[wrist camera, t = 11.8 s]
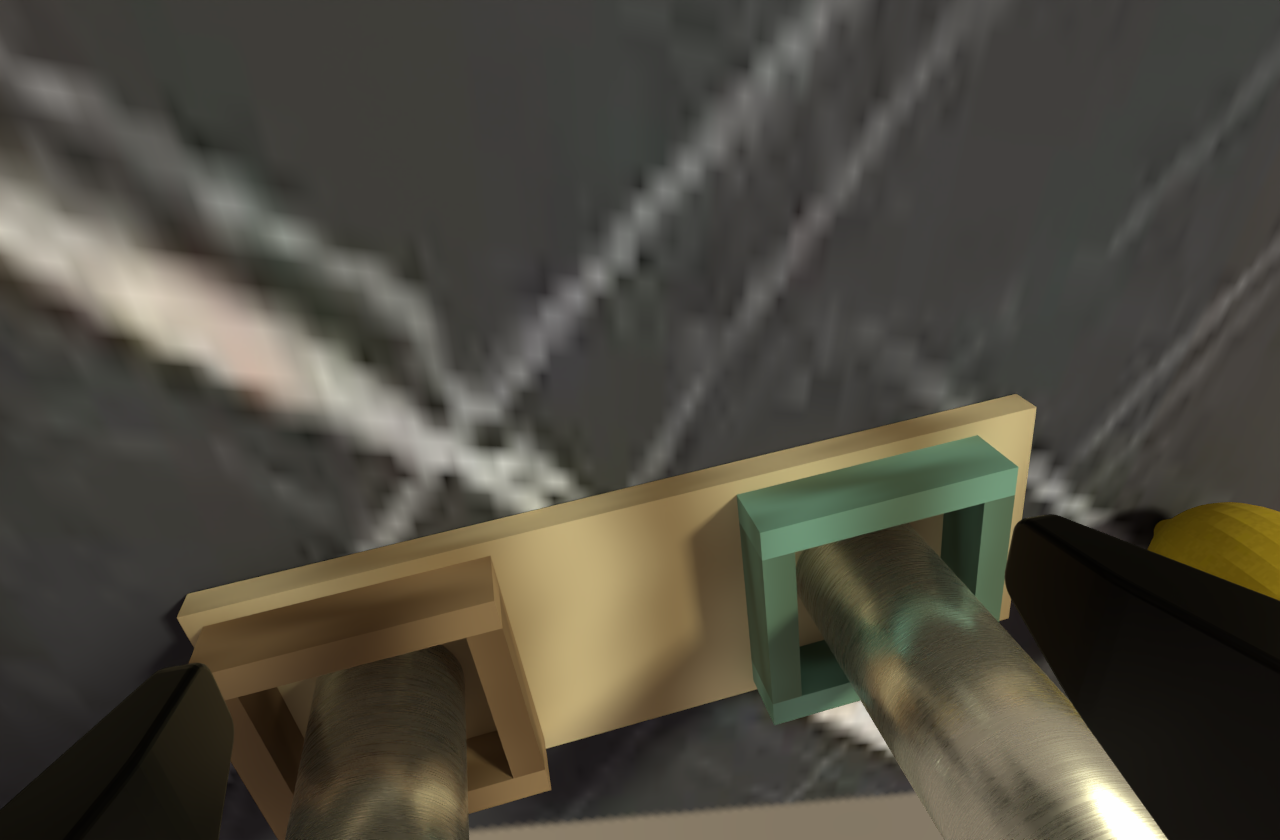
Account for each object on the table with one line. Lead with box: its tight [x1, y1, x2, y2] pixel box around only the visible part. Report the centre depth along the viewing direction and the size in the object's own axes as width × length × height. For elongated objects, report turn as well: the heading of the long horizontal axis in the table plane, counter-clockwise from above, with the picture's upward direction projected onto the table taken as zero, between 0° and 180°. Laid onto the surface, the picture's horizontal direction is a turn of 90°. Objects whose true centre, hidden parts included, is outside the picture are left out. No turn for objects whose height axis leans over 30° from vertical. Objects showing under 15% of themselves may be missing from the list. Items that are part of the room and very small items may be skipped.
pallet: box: [177, 394, 1036, 840], centre depth 24 cm, size 26×9×3 cm, turn 98°
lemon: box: [1147, 502, 1280, 601], centre depth 26 cm, size 6×6×8 cm
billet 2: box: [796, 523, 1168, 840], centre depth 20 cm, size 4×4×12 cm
